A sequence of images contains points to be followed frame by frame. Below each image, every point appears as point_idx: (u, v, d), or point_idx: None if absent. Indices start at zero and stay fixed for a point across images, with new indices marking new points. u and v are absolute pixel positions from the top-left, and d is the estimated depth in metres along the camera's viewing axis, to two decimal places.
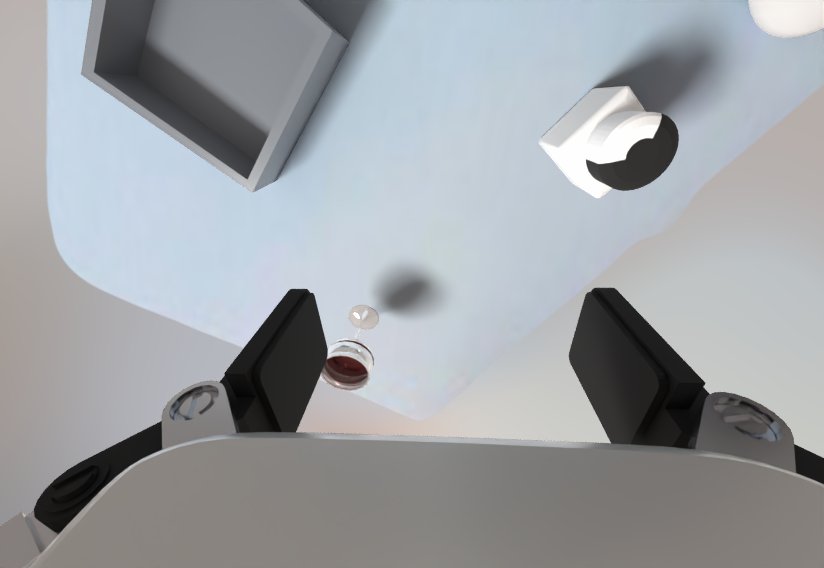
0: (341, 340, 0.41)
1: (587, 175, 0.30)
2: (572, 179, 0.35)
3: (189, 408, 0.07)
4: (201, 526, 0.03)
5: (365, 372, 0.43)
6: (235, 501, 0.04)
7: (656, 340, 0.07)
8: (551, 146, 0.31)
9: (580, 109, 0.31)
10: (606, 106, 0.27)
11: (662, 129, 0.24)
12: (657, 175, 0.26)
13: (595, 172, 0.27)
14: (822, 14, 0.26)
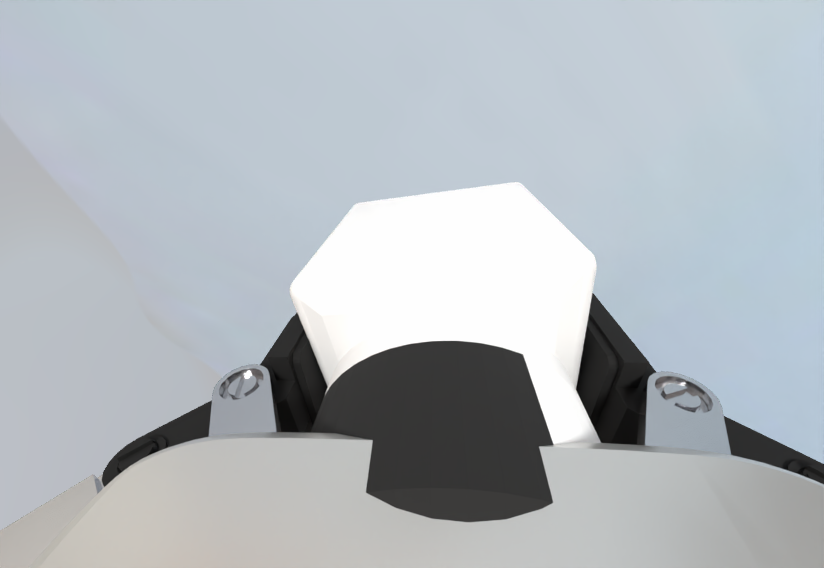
0: None
1: (410, 297, 0.07)
2: (379, 215, 0.11)
3: (237, 389, 0.07)
4: (201, 526, 0.03)
5: None
6: (235, 501, 0.04)
7: (611, 326, 0.08)
8: (560, 222, 0.08)
9: None
10: None
11: None
12: None
13: (484, 423, 0.04)
14: None
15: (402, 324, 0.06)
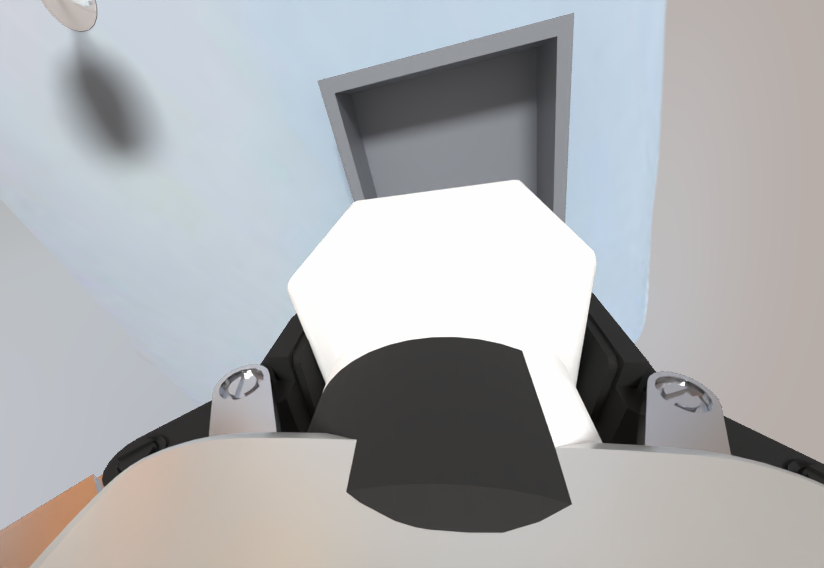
0: None
1: (409, 294, 0.07)
2: (378, 212, 0.11)
3: (237, 389, 0.07)
4: (201, 526, 0.03)
5: None
6: (235, 501, 0.04)
7: (611, 325, 0.08)
8: None
9: None
10: None
11: None
12: None
13: (482, 419, 0.04)
14: None
15: (400, 320, 0.06)
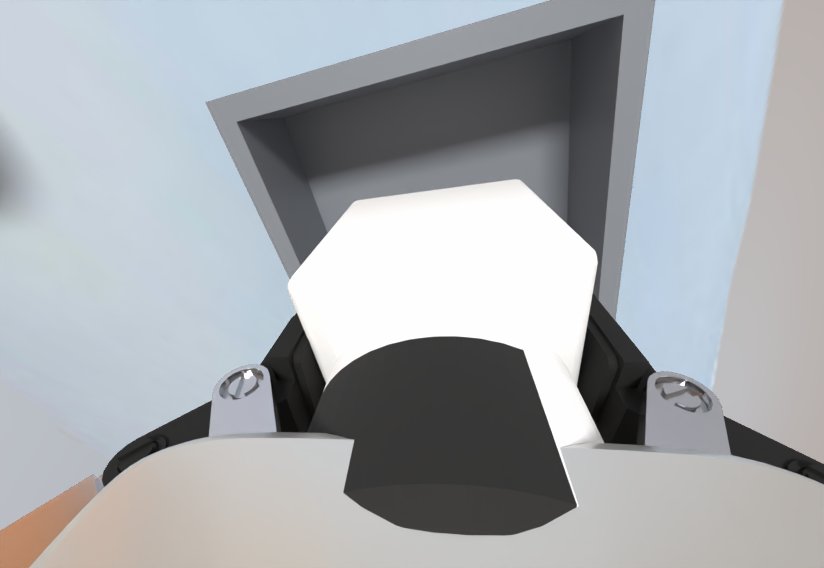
0: None
1: (410, 293, 0.07)
2: (378, 212, 0.11)
3: (237, 389, 0.07)
4: (201, 526, 0.03)
5: None
6: (235, 501, 0.04)
7: (611, 325, 0.08)
8: (560, 218, 0.08)
9: None
10: None
11: None
12: None
13: (484, 419, 0.04)
14: None
15: (401, 320, 0.06)
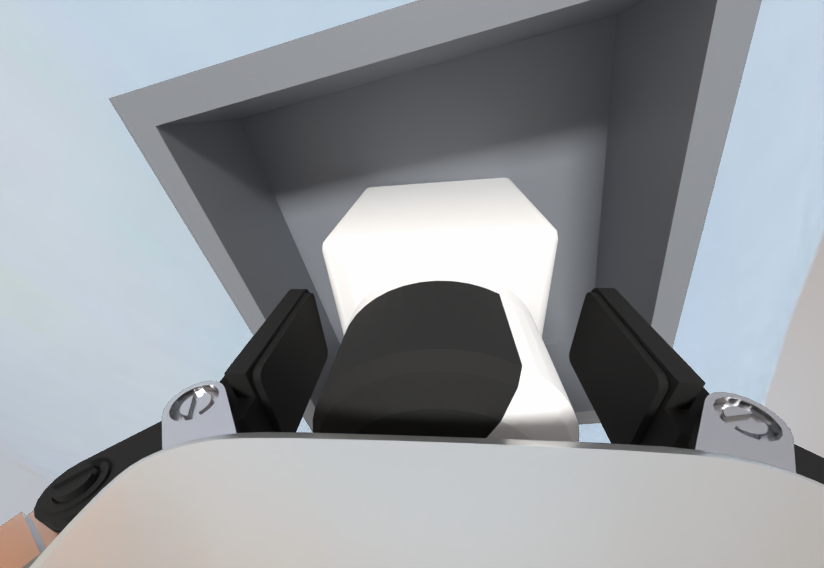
0: None
1: (417, 255, 0.09)
2: (389, 197, 0.13)
3: (189, 408, 0.07)
4: (201, 526, 0.03)
5: None
6: (235, 501, 0.04)
7: (656, 340, 0.07)
8: (536, 208, 0.11)
9: None
10: None
11: None
12: None
13: (469, 323, 0.06)
14: None
15: (412, 272, 0.08)
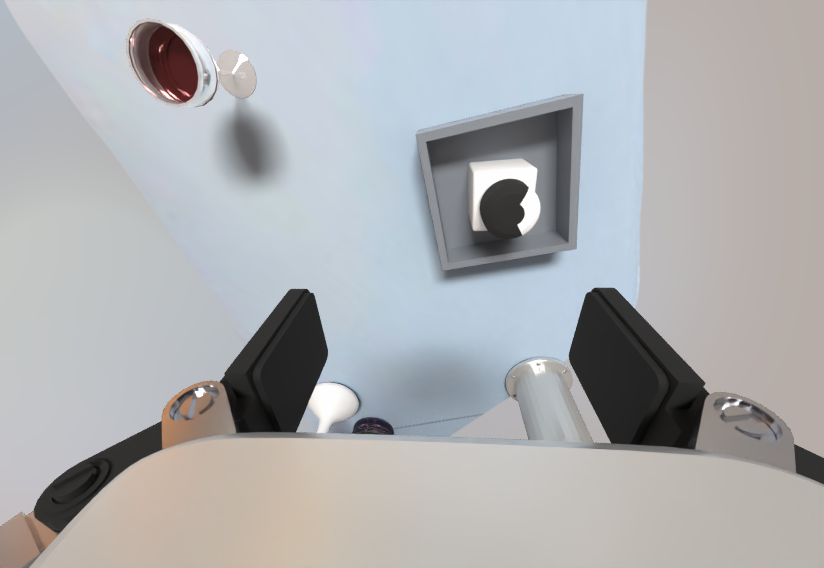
0: (217, 83, 0.31)
1: (500, 176, 0.35)
2: (482, 164, 0.39)
3: (189, 408, 0.07)
4: (201, 526, 0.03)
5: (153, 69, 0.31)
6: (235, 501, 0.04)
7: (656, 340, 0.07)
8: None
9: None
10: None
11: (516, 231, 0.33)
12: (486, 216, 0.33)
13: (518, 182, 0.32)
14: (312, 399, 0.64)
15: (501, 178, 0.34)
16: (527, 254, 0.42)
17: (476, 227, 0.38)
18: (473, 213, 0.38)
